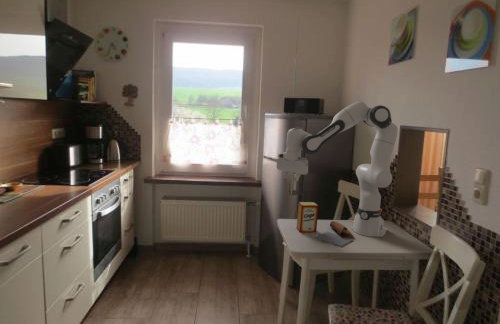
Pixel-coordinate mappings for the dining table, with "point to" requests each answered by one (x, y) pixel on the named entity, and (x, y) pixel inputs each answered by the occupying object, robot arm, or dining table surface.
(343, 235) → the sunglasses case
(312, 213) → the baking soda box
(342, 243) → the mat
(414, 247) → the dining table surface
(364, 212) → the robot arm
